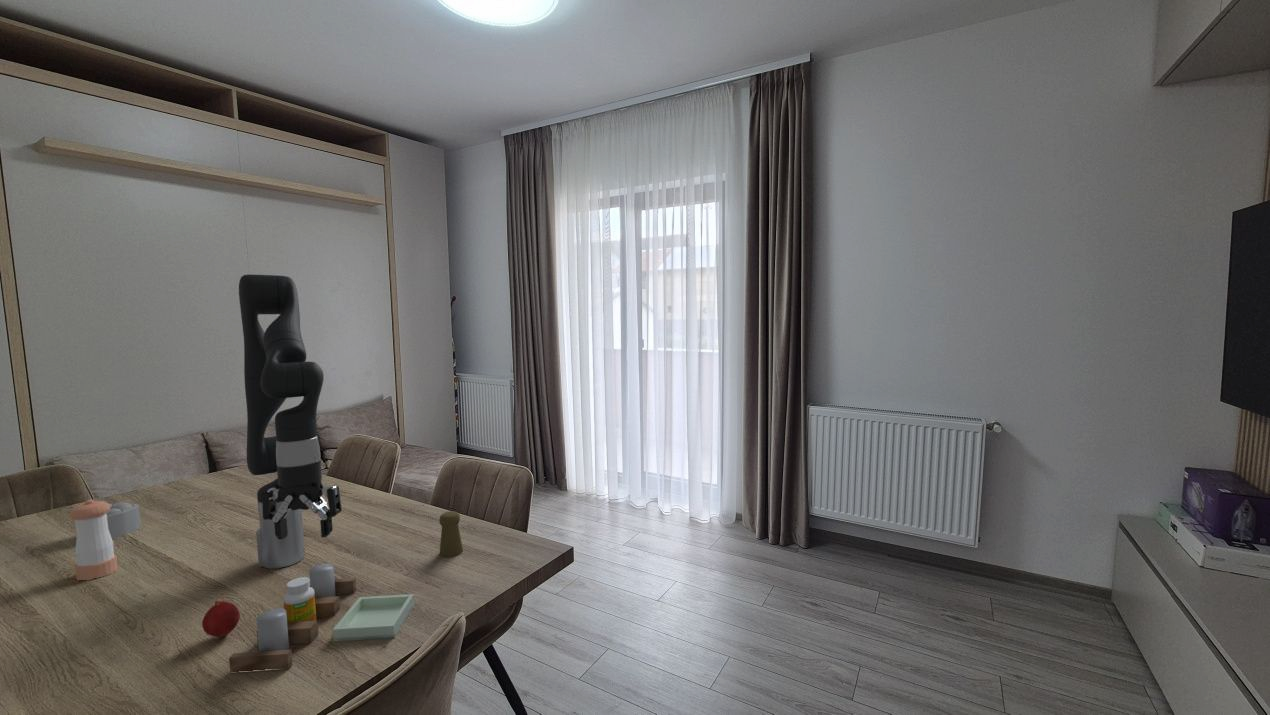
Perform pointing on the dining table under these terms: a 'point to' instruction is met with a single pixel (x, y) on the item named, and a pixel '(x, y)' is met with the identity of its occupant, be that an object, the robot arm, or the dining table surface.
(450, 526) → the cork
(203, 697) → the dining table surface
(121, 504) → the grey egg carton
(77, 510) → the salt shaker
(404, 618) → the tray
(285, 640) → the front canister
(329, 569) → the cylinder
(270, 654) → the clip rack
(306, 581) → the supplement bottle
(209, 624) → the onion
